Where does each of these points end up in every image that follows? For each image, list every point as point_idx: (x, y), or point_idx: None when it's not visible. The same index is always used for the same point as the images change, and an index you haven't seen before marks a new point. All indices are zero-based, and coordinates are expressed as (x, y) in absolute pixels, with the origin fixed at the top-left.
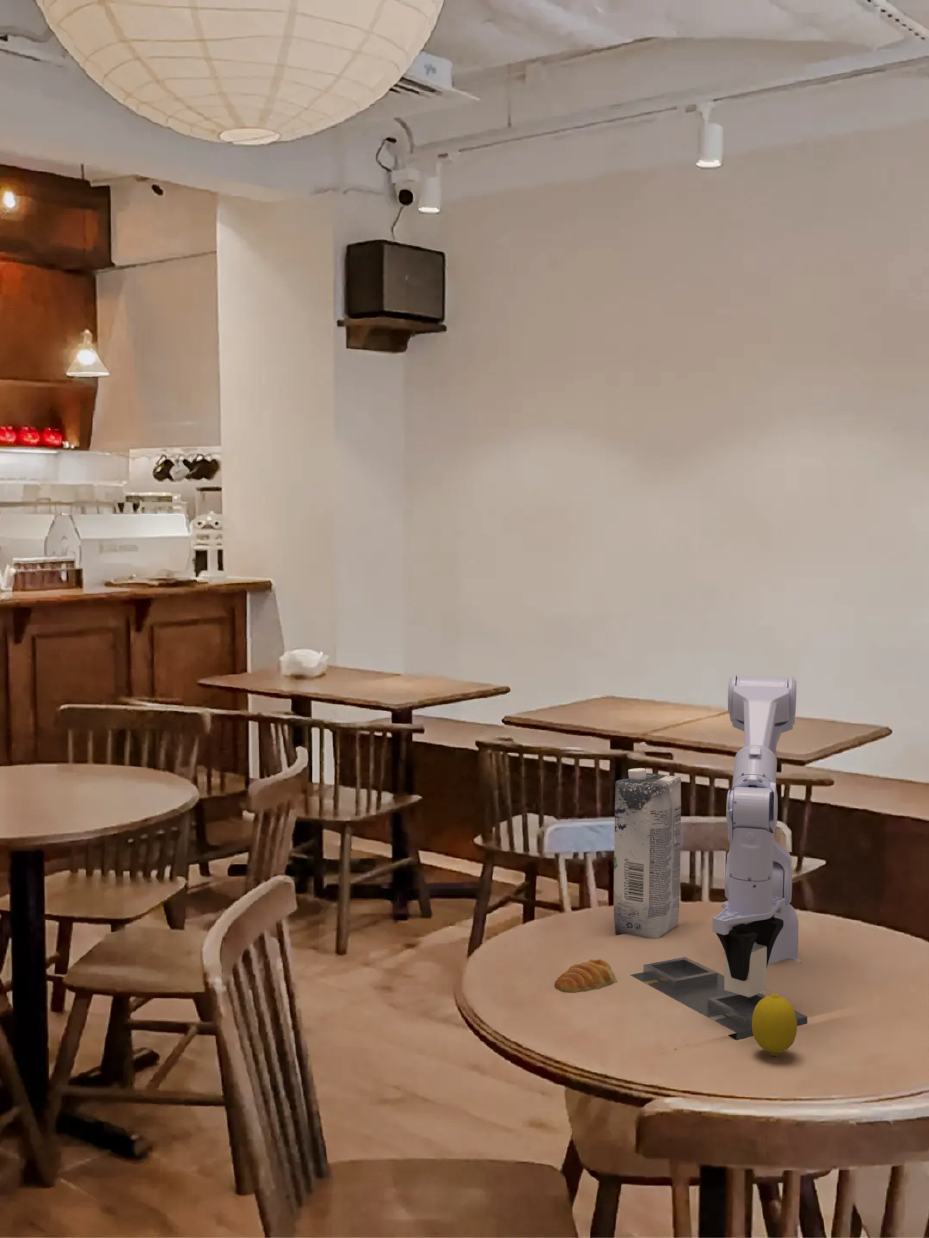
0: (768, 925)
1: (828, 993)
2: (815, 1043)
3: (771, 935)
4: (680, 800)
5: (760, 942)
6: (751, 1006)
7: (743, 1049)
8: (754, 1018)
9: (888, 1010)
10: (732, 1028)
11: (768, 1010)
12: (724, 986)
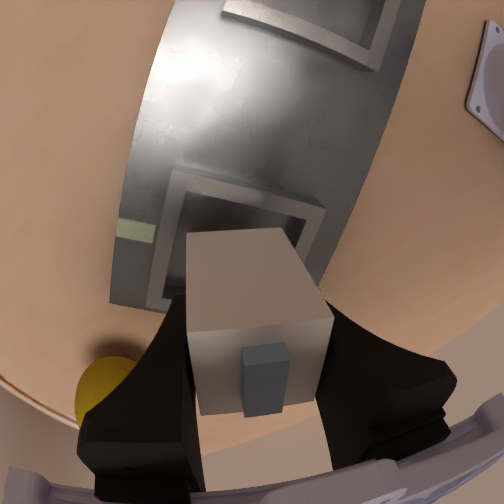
0: (342, 467)
1: (441, 259)
2: None
3: (328, 442)
4: None
5: (326, 386)
6: None
7: (94, 321)
8: (76, 400)
9: (411, 343)
10: (116, 286)
11: None
12: (186, 238)
